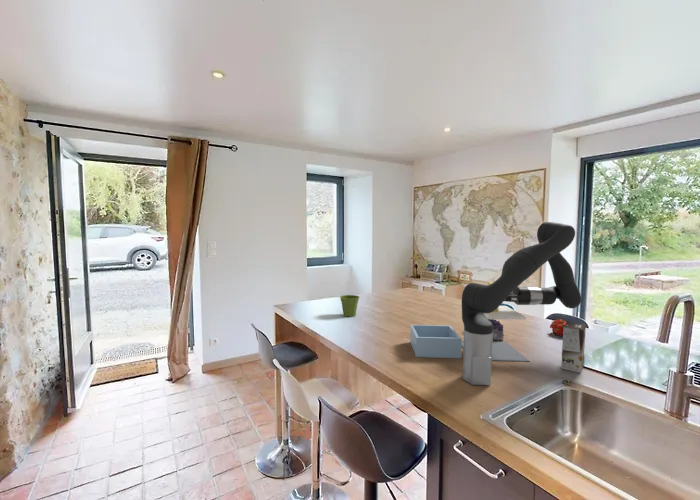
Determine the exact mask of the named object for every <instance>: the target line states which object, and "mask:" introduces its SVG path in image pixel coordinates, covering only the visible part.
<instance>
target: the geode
mask: <svg viewBox="0 0 700 500" xmlns="http://www.w3.org/2000/svg"><path fill="white" fill-rule="evenodd" d="M488 320H489V321H490V322H491V323H492V325H493V339H492V341H493V342H504V338H505V334H504V325H503V324H501V322H500V321H499V320H497V319H488Z"/></svg>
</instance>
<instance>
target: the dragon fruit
mask: <svg viewBox="0 0 700 500" xmlns="http://www.w3.org/2000/svg"><path fill="white" fill-rule="evenodd" d="M567 322H568V321H566V320H564V319H561V318H557V319H555V320H552V321H551V324H550V326H549V328H550V329H551V330H552V333H553V334H554V335H555V334H556V335H558V336H559V337H560V338H561V337H562V338H563V327H564V325H565V324H566V323H567Z"/></svg>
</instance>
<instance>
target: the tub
mask: <svg viewBox="0 0 700 500" xmlns="http://www.w3.org/2000/svg"><path fill="white" fill-rule="evenodd" d="M409 332H410V336H409V337H410V340H409V341H410V345H411V347H412V350H413V352H414V355H415V357H416V358H440V359H441V358H442V359H444V358H445V359H446V358H447V359H462V346H461V345H462V341H463V339H462V337H461V336H460V335H459V334H458V333H457V331H456V330H455V329H454V328H453V327H452V325H442V324H441V325H439V324H438V325H436V324H410V331H409Z"/></svg>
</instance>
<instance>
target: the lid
mask: <svg viewBox="0 0 700 500" xmlns="http://www.w3.org/2000/svg"><path fill="white" fill-rule="evenodd" d="M494 282H495V281H487V285H490V284H492V283H494ZM484 315H485V317H486V318H487V319H491V320H492V319H494V320H522V321H523V320H525V321H526V320H527V316H525V315H523V314H522V313H520V312H518V311H516V310H514V309H513V308H510V307H509V306H507V305H500V306H499V307H498V308H497V309H496V310H494V311H493V312H491V313H484Z"/></svg>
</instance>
